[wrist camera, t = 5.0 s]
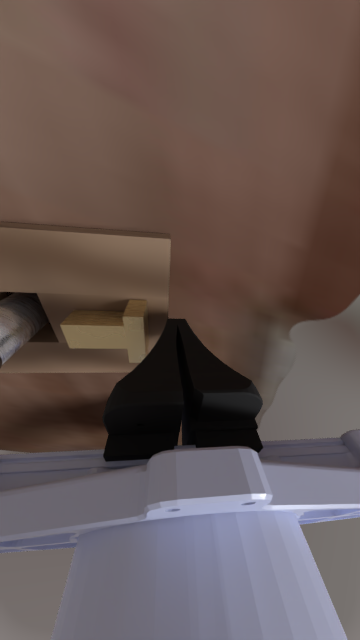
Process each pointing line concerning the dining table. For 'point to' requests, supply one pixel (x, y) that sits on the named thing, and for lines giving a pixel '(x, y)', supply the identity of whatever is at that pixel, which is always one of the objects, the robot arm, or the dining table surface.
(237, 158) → the dining table surface
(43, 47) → the dining table surface
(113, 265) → the board
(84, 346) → the key
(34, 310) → the peg
